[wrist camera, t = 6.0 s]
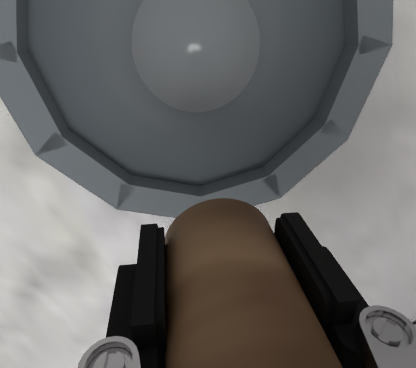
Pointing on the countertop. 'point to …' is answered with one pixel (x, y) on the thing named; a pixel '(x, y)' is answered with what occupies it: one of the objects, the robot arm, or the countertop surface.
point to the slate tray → (178, 144)
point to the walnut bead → (236, 295)
